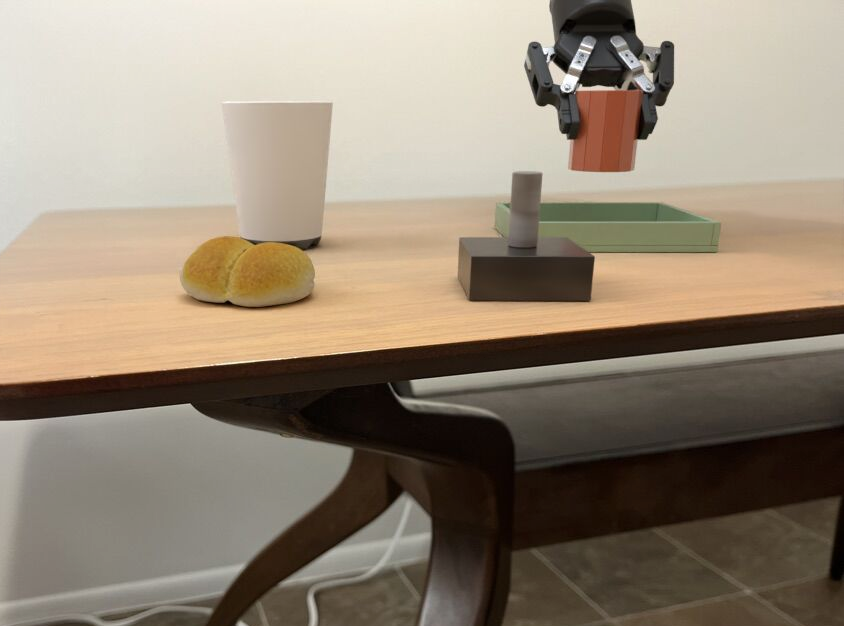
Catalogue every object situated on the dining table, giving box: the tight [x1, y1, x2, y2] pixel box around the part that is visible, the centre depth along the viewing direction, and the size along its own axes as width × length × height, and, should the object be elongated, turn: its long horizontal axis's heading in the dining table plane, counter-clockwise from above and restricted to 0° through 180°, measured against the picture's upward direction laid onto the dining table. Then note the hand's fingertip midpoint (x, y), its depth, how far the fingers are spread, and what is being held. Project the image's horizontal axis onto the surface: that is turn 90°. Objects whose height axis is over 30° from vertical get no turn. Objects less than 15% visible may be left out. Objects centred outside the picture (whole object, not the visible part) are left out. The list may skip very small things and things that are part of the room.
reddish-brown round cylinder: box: [567, 89, 643, 173], centre depth 75 cm, size 6×6×7 cm
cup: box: [221, 100, 334, 251], centre depth 74 cm, size 10×10×13 cm
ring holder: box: [457, 170, 596, 302], centre depth 56 cm, size 8×8×8 cm
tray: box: [494, 201, 722, 253], centre depth 78 cm, size 17×15×3 cm
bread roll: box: [179, 235, 316, 308], centre depth 56 cm, size 8×9×4 cm
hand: (609, 133), depth 74 cm, fingers closed on reddish-brown round cylinder, 6 cm apart
